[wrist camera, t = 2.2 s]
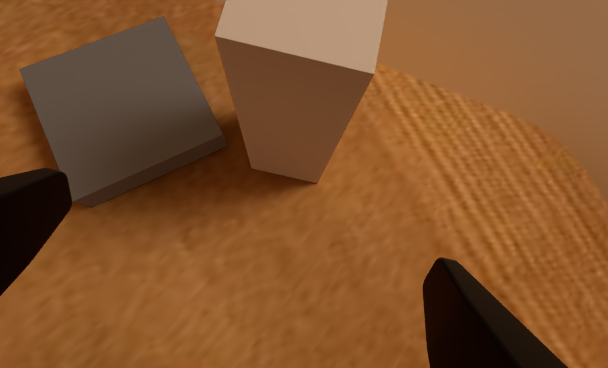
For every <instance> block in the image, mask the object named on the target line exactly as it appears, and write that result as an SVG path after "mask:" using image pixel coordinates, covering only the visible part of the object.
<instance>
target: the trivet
mask: <svg viewBox="0 0 608 368" xmlns="http://www.w3.org/2000/svg"><path fill="white" fill-rule="evenodd" d="M19 70H20V72H21V75H22V77H23V80H24V82H25V85H26V87H27V90H28V92H29V95H30V97H31V100H32V102H33V105H34V107H35V110H36V112H37V115H38V117H39V120H40V122H41V125H42V127H43V130H44V133H45V135H46V138H47V140H48V143H49V145H50V148H51V150H52V153H53V155H54V158H55V160H56V163H57V165H58V168H59V170H60V171H62V172H64V173H65V174H66V175H67V178H68V182H69V187H70V192H71V197H72V202H74V203H78V204H81V205H85V206H88V207H94V206H96V205H99V204H101V203H103V202H105V201H107V200H110V199H112V198H114V197H116V196H118V195H121V194H123V193H125V192H127V191H129V190H132V189H134V188H136V187H138V186H140V185H143V184H145V183H147V182H149V181H151V180H154V179H156V178H158V177H160V176H162V175H165V174H167V173H169V172H171V171H174V170H176V169H178V168H180V167H182V166H185V165H187V164H189V163H191V162H193V161H196V160H198V159H200V158H202V157H204V156H207V155H209V154H211V153H213V152H215V151H218V150H220V149H222V148H224V147H226V146H228V145H227V142H226V140H225V137H224V135H223V133H222V131H221V129H220V127H219V125H218V123H217V121H216V119H215V117H214V115H213V113H212V111H211V109H210V107H209V105H208V103H207V101H206V99H205V97H204V95H203V93H202V91H201V89H200V87H199V85H198V83H197V81H196V79H195V77H194V75H193V73H192V71H191V69H190V67H189V65H188V63H187V61H186V59H185V57H184V55H183V53H182V52H181V50H180V48H179V46H178V44H177V42H176V40H175V38H174V36H173V34H172V32H171V30H170V28H169V26H168V24H167V22H166V20H165V18H164V16H163V17H161V18H158V19H155V20H152V21H150V22H147V23H144V24H141V25H139V26H136V27H133V28H130V29H128V30H125V31H122V32H119V33H117V34H114V35H111V36H109V37H106V38H103V39H100V40H98V41H95V42H92V43H89V44H87V45H84V46H81V47H78V48H76V49H73V50H70V51H67V52H65V53H62V54H59V55H56V56H54V57H51V58H48V59H46V60H43V61H40V62H37V63H35V64H32V65H29V66H26V67H24V68H21V69H19Z"/></svg>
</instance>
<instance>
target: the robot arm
mask: <svg viewBox="0 0 608 368" xmlns="http://www.w3.org/2000/svg"><path fill="white" fill-rule="evenodd" d="M71 205H72V197H71V192H70V187H69V182H68V178H67V175H66V174H65V173H64V172H62V171H58V170H53V169H49V168H42V169H37V170H33V171H28V172H24V173H19V174H15V175H10V176H6V177H1V178H0V296H1V295H2V294H3V293H4V291H5V290H6V289H7V288H8V287H9V286H10V285H11V284H12V283H13V282H14V281H15V279H16V278H17V277H18V276H19V275H20V274H21V273H22V272H23V271H24V269H25V268H26V267H27V266H28V265H29V264H30V262H31V261H32V260H33V259H34V257H35V256H36V255H37V253H38V252H39V251H40V249H41V248H42V247H43V245H44V244H45V243H46V241H47V240H48V239H49V237H50V236H51V235H52V233H53V232H54V231H55V229H56V228H57V227H58V225H59V224H60V223H61V221H62V220H63V218H64V217H65V216H66V214H67V213H68V212H69V210H70V208H71ZM423 301H424V315H425V329H426V342H427V351H428V357H429V363H430V368H568V367H567V366H566V365H565V364H564V363H563V362H562V361H561V360H560V359H558V358H557V357H556V356H555V355H554V354H553V353H552V352H551V351H550V350H549V349H548V348H547V347H546V346H545V345H544V344H543V343H542V342H541V341H540V340H539V339H538V338H537V337H536V336H534V335H533V334H532V333H531V332H530V331H529V330H528V329H527V328H526V327H525V326H524V325H523V324H522V323H521V322H520V321H519V320H518V319H517V318H516V317H515V316H514V315H513V314H512V313H511V312H509V311H508V310H507V309H506V308H505V307H504V306H503V305H502V304H501V303H500V302H499V301H498V300H497V299H496V298H495V297H494V296H493V295H492V294H491V293H490V292H489V291H488V290H487V289H486V288H484V287H483V286H482V285H481V284H480V283H479V282H478V281H477V280H476V279H475V278H474V277H473V276H472V275H471V274H470V273H469V272H468V271H467V270H466V269H465V268H464V267H463V266H462V265H460V264H459V263H458V262H457V261H455V260H451V259H447V258H442V257H441V258H438V259H437V260H436V261H435V263H434V264H433V266H432V268H431V269H430V271H429V273H428V275H427V276H426V278H425V280H424V283H423Z"/></svg>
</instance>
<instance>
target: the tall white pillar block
mask: <svg viewBox="0 0 608 368" xmlns="http://www.w3.org/2000/svg"><path fill="white" fill-rule="evenodd" d="M387 1H388V0H226V3H225V6H224V9H223V12H222V15H221V18H220V21H219V24H218V27H217V30H216V33H215V39H216V43H217V46H218V50H219V53H220V57H221V60H222V64H223V68H224V71H225V75H226V78H227V82H228V86H229V89H230V93H231V96H232V100H233V104H234V107H235V111H236V114H237V118H238V121H239V125H240V129H241V132H242V136H243V139H244V143H245V147H246V150H247V154H248V157H249V161H250V165H251V168H252V169H256V170H261V171H265V172H269V173H274V174H278V175H282V176H287V177H291V178H296V179H300V180H304V181H309V182H313V183H318V181H319V179H320V177H321V175H322V173H323V172H324V170H325V168H326V166H327V164H328V162H329V160H330V158H331V156H332V154H333V152H334V150H335V148H336V147H337V145H338V143H339V141H340V139H341V137H342V135H343V133H344V131H345V129H346V127H347V125H348V123H349V122H350V120H351V118H352V116H353V114H354V112H355V110H356V108H357V106H358V104H359V102H360V100H361V98H362V96H363V95H364V93H365V91H366V89H367V87H368V85H369V83H370V81H371V79H372V77H373V75H374V72H375V67H376V61H377V56H378V50H379V45H380V39H381V34H382V28H383V23H384V18H385V12H386V7H387Z"/></svg>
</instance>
